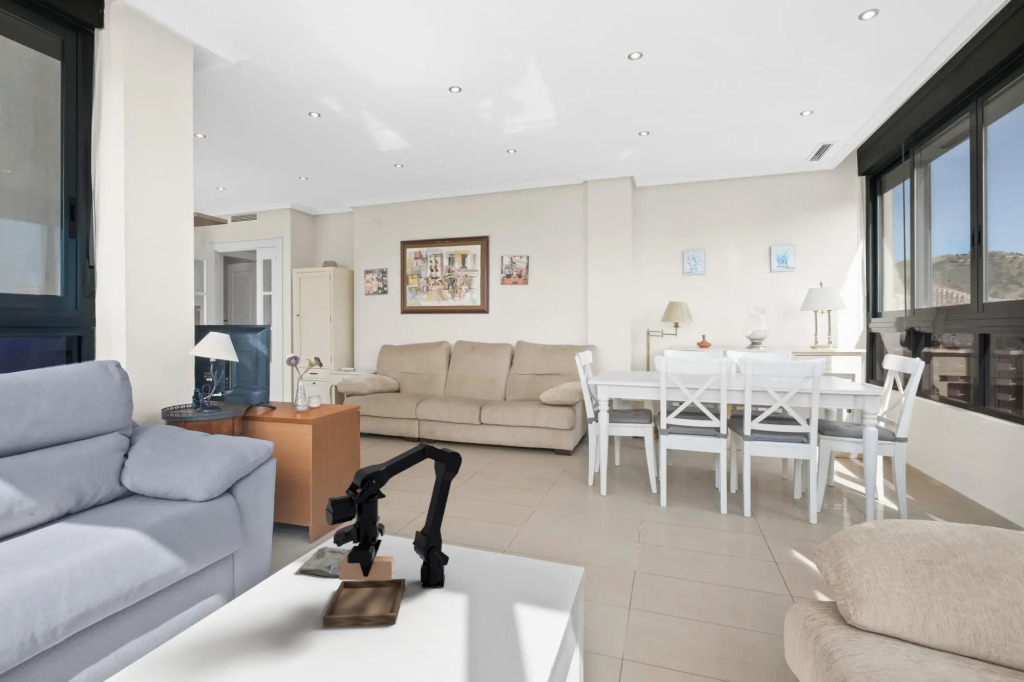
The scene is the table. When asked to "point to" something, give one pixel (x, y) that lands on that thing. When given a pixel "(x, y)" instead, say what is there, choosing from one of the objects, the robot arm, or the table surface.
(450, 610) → the table surface
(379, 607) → the tray
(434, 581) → the robot arm
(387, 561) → the light brown rectangular block
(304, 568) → the fossil rock
